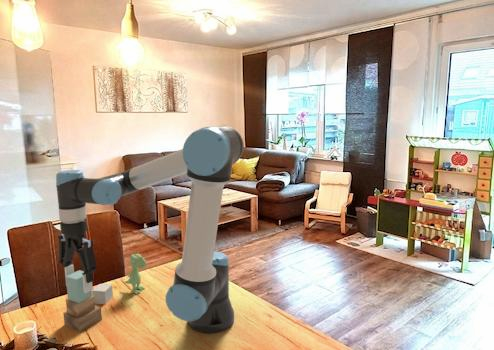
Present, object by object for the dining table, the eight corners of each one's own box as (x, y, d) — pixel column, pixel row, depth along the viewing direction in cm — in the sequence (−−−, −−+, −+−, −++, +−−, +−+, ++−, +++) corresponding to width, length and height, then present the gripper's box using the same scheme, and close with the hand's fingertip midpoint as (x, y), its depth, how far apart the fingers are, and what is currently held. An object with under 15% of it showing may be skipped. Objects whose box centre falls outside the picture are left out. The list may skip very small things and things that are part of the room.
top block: (95, 308, 116) (94, 296, 115) (78, 317, 111) (77, 304, 110) (83, 303, 119) (82, 291, 118) (66, 312, 114) (65, 299, 113)
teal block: (92, 296, 115) (90, 273, 114) (78, 303, 111) (76, 279, 109) (81, 292, 117) (79, 270, 116) (68, 299, 113) (65, 276, 112)
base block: (101, 320, 118) (101, 307, 117) (80, 333, 111) (79, 319, 110) (86, 313, 121) (85, 301, 121) (64, 325, 114) (63, 312, 114)
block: (112, 297, 132) (112, 284, 131) (105, 304, 127) (104, 291, 126) (100, 296, 133) (99, 283, 132) (92, 303, 128) (91, 290, 127)
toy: (148, 292, 135) (146, 255, 133) (126, 297, 132) (125, 258, 129) (143, 284, 142) (142, 249, 139) (123, 289, 138) (121, 252, 135)
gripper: (106, 221, 108) (111, 290, 112) (63, 212, 118) (69, 276, 122) (84, 228, 101) (90, 301, 105) (41, 218, 111) (48, 285, 115)
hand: (79, 287), depth 114 cm, fingers open, 8 cm apart
